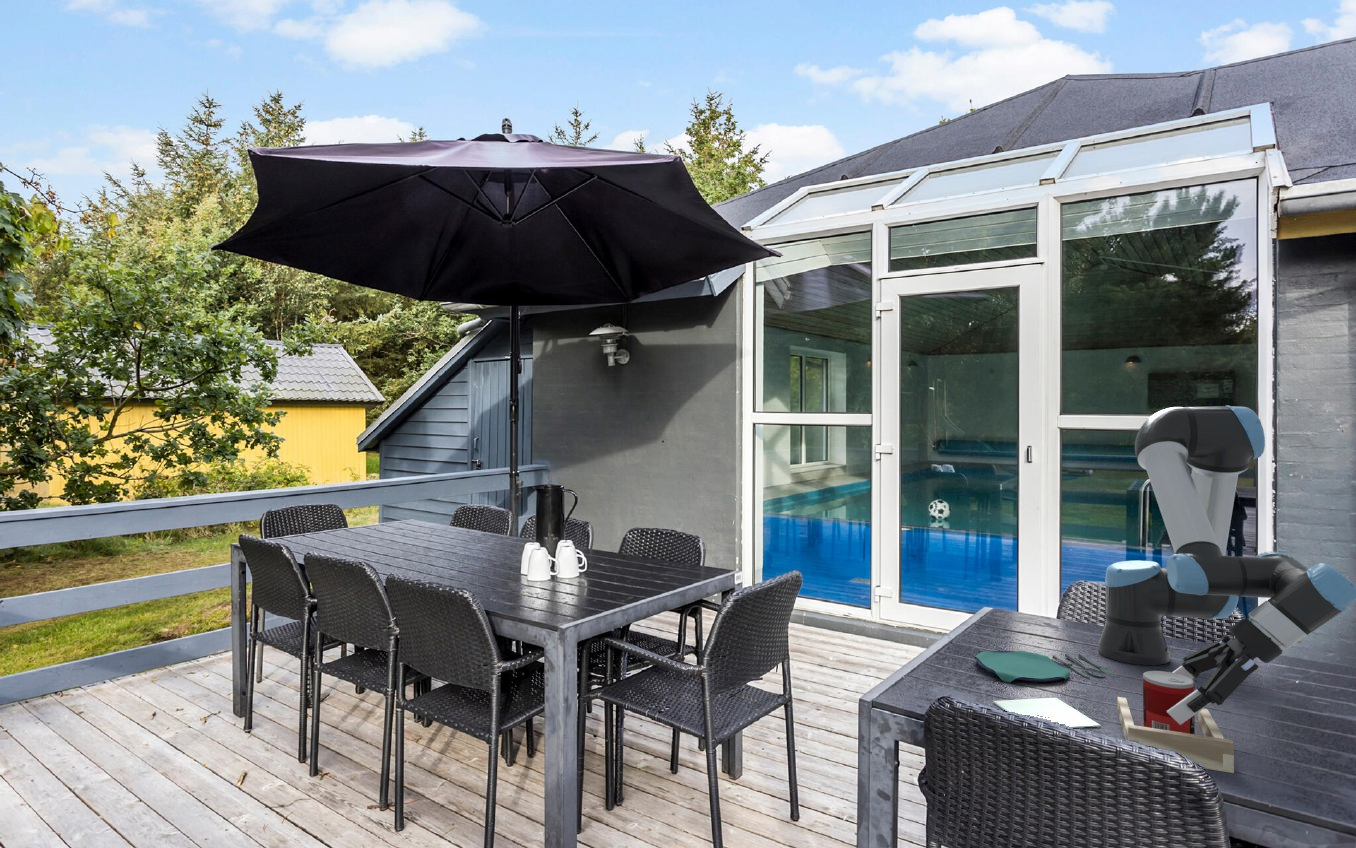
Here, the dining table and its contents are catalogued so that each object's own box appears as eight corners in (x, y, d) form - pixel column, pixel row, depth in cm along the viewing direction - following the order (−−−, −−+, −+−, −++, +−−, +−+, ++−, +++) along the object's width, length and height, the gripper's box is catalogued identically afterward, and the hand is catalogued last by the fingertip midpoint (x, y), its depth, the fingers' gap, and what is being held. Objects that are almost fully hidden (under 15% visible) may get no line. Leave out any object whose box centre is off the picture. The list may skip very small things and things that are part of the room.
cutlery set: (961, 658, 181) (961, 649, 181) (1078, 657, 182) (1078, 648, 182) (999, 688, 161) (1000, 678, 161) (1130, 687, 162) (1131, 677, 162)
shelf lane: (1117, 711, 147) (1117, 686, 147) (1207, 724, 140) (1207, 698, 140) (1129, 755, 128) (1128, 727, 128) (1234, 773, 121) (1233, 743, 121)
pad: (1056, 699, 153) (1056, 697, 153) (1100, 727, 139) (1100, 725, 139) (993, 702, 152) (993, 701, 152) (1031, 731, 138) (1031, 729, 138)
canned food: (1203, 746, 131) (1202, 686, 131) (1154, 743, 132) (1153, 683, 132) (1182, 728, 138) (1181, 671, 138) (1136, 726, 140) (1135, 669, 140)
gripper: (1310, 672, 116) (1198, 748, 123) (1262, 631, 139) (1170, 697, 145) (1268, 635, 118) (1161, 712, 125) (1228, 601, 141) (1139, 667, 147)
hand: (1166, 704), depth 135 cm, fingers open, 13 cm apart
